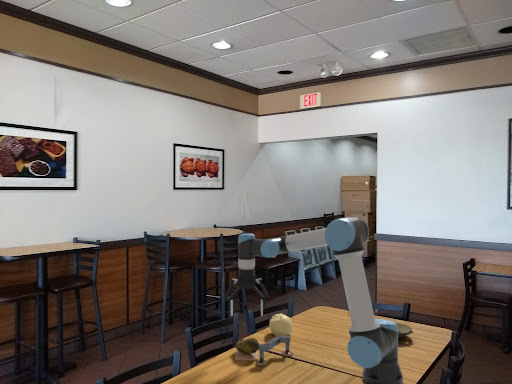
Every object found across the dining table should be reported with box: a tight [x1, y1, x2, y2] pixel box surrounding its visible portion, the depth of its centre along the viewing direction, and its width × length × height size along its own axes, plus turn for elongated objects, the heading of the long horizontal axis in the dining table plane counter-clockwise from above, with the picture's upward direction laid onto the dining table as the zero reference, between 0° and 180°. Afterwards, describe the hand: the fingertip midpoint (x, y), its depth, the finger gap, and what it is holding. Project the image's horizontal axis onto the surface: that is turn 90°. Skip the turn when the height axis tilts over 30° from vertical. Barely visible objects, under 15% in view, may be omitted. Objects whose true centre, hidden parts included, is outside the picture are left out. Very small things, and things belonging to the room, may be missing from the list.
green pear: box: [234, 337, 260, 354], centre depth 187 cm, size 8×13×8 cm, turn 24°
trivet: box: [234, 349, 259, 361], centre depth 186 cm, size 10×10×1 cm
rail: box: [255, 335, 294, 367], centre depth 183 cm, size 7×21×8 cm, turn 133°
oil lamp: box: [395, 322, 414, 338], centre depth 214 cm, size 22×30×8 cm
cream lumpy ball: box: [268, 313, 293, 337], centre depth 215 cm, size 12×12×11 cm
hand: (246, 315), depth 186 cm, fingers open, 13 cm apart
